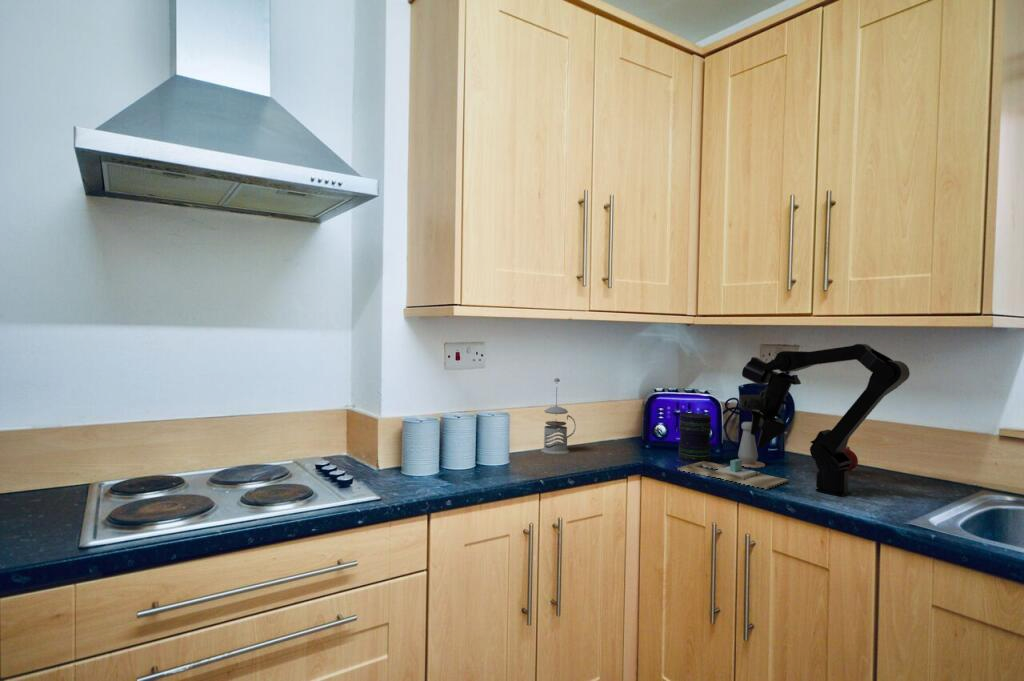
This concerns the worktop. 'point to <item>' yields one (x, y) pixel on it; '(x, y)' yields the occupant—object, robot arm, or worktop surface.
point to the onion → (851, 458)
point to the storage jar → (694, 437)
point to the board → (755, 480)
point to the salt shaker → (747, 445)
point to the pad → (754, 465)
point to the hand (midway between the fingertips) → (755, 440)
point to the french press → (556, 431)
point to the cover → (737, 469)
